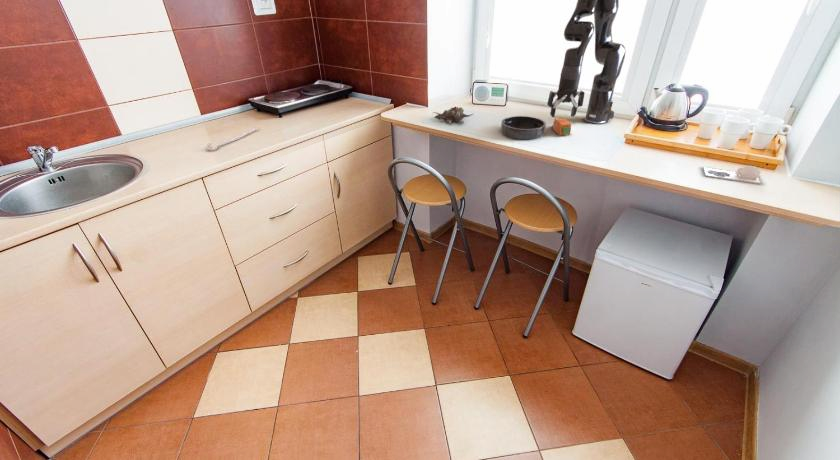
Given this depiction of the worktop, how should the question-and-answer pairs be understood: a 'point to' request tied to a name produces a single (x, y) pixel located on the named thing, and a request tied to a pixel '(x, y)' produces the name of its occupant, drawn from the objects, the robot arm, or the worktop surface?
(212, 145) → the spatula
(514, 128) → the pan
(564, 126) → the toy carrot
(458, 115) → the figurine
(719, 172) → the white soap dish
